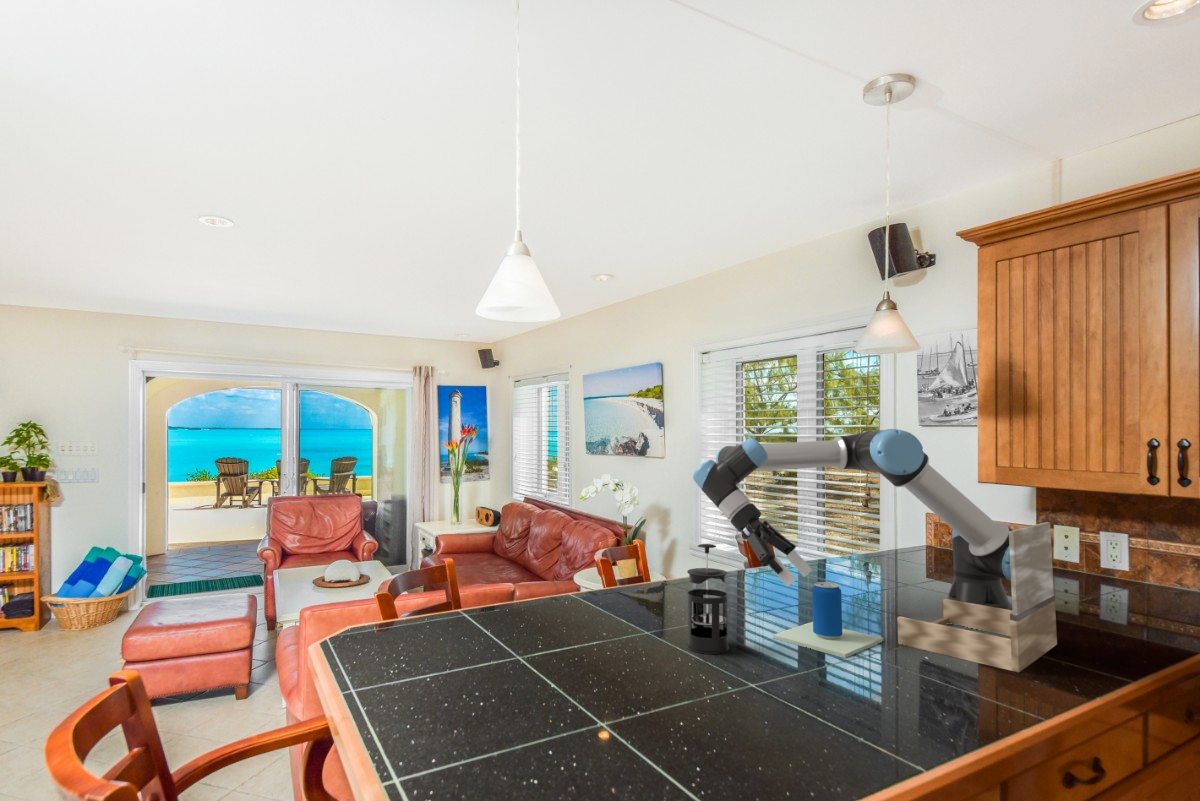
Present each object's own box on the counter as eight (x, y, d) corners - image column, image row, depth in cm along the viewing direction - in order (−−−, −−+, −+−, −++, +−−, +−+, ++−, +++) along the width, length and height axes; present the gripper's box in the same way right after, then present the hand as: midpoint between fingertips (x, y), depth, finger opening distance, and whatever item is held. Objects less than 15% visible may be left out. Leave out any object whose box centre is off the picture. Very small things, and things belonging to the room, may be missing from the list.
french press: (737, 653, 135) (736, 547, 137) (697, 656, 133) (697, 548, 135) (715, 637, 146) (714, 539, 148) (677, 640, 144) (677, 540, 146)
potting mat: (772, 638, 146) (772, 634, 146) (813, 624, 158) (813, 621, 158) (845, 658, 133) (844, 654, 133) (883, 641, 144) (883, 637, 144)
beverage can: (837, 632, 148) (836, 581, 149) (846, 640, 142) (844, 587, 143) (810, 631, 149) (809, 581, 150) (817, 639, 142) (816, 587, 143)
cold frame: (898, 643, 143) (894, 521, 145) (945, 622, 161) (941, 513, 163) (1019, 672, 124) (1013, 532, 127) (1057, 644, 143) (1051, 522, 145)
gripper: (748, 517, 170) (804, 579, 160) (711, 526, 149) (773, 598, 140) (766, 498, 167) (824, 560, 158) (731, 505, 147) (796, 577, 137)
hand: (800, 578), depth 149 cm, fingers open, 13 cm apart
